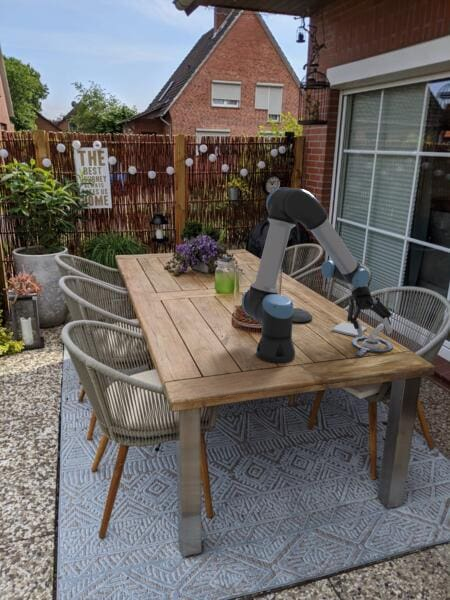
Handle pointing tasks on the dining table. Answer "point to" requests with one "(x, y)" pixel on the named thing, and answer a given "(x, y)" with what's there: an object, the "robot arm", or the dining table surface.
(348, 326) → the tile
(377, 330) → the hook
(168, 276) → the dining table surface
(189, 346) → the dining table surface
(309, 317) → the flying saucer
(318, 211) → the robot arm
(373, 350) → the eye ring
